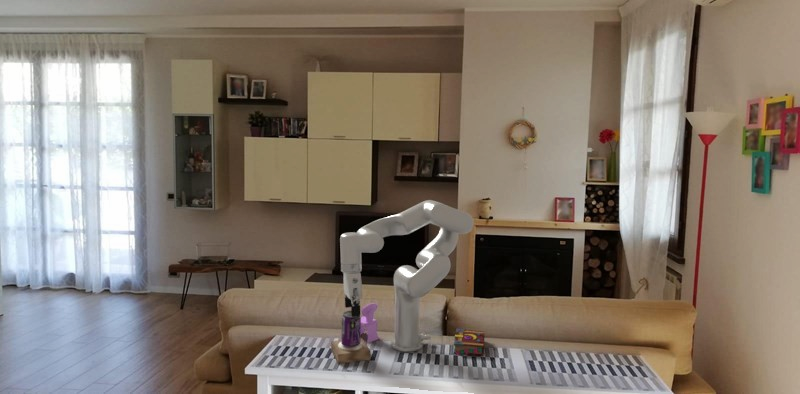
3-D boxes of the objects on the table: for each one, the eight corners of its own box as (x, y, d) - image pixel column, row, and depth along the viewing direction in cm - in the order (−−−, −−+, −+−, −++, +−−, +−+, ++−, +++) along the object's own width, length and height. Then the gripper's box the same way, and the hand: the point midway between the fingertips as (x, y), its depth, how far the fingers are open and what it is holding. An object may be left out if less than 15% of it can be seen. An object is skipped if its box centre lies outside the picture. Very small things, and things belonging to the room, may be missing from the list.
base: (361, 346, 209) (361, 336, 208) (370, 359, 197) (370, 349, 197) (331, 350, 205) (331, 340, 204) (338, 363, 194) (338, 353, 193)
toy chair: (366, 331, 223) (366, 296, 221) (381, 337, 217) (381, 302, 215) (351, 337, 218) (351, 301, 215) (365, 343, 212) (366, 306, 209)
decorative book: (484, 341, 216) (484, 329, 216) (483, 358, 201) (484, 346, 200) (455, 339, 218) (456, 327, 217) (453, 356, 202) (453, 343, 202)
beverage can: (357, 349, 196) (357, 317, 195) (338, 347, 198) (338, 316, 196) (362, 341, 203) (363, 311, 202) (344, 339, 205) (344, 309, 203)
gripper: (367, 271, 190) (368, 318, 192) (355, 259, 206) (356, 302, 208) (346, 274, 187) (348, 321, 190) (336, 261, 203) (337, 305, 206)
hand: (352, 311), depth 199 cm, fingers open, 9 cm apart
